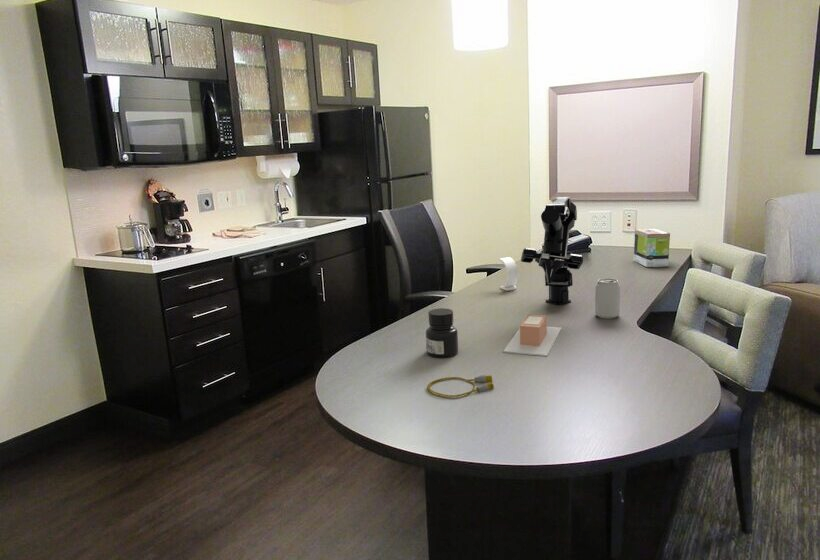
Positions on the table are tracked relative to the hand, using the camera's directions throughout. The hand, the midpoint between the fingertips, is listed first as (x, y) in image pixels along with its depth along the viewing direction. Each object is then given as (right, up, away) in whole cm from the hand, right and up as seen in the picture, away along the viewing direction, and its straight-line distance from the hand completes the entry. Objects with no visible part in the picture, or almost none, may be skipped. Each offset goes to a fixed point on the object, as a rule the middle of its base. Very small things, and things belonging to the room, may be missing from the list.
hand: (549, 283), depth 181 cm
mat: (-8, -16, -14) cm, 23 cm away
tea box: (+63, +8, +74) cm, 97 cm away
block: (-6, -12, -10) cm, 17 cm away
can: (+20, -11, +4) cm, 23 cm away
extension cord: (-32, -25, -43) cm, 59 cm away
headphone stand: (-5, -3, +45) cm, 45 cm away
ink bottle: (-35, -20, -20) cm, 45 cm away
